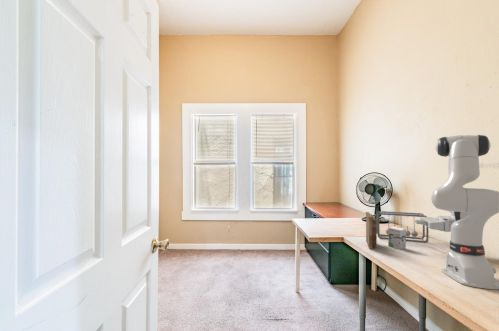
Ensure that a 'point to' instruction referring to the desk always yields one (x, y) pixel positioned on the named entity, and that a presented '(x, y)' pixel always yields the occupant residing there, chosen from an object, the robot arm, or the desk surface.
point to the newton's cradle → (401, 223)
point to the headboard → (371, 231)
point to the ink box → (397, 238)
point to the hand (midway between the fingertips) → (415, 221)
